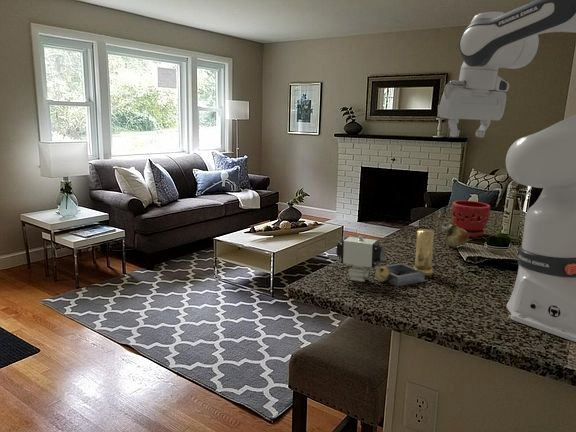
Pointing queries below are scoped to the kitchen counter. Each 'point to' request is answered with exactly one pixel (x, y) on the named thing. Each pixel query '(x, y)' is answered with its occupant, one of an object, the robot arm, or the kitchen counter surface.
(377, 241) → the pneumatic valve
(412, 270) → the grey rectangular tray
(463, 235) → the onion
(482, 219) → the plant pot
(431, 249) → the pipe fitting
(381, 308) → the kitchen counter surface
